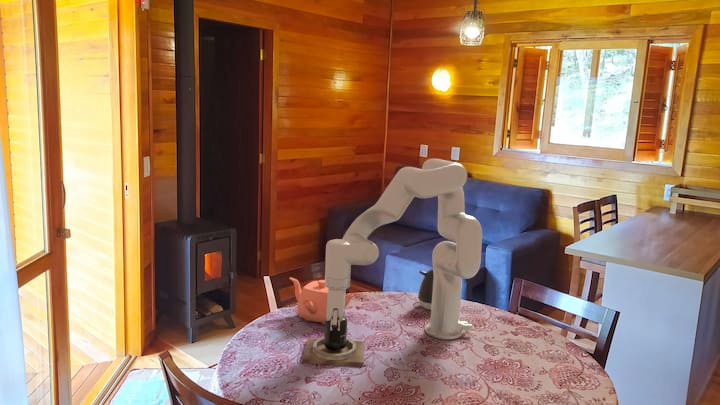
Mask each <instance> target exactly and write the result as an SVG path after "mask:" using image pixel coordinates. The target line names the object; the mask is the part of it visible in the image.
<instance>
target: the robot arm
mask: <svg viewBox="0 0 720 405" xmlns="http://www.w3.org/2000/svg"><path fill="white" fill-rule="evenodd" d="M467 179H468V172H467V170H466V168H465V166H463V165H462V164H461V163H459V162H454V161H451V160H447V159H446V160H444V159H441V158H429V159H426V161H424V163H423V164H422V167H421V168H418V167H414V166H404V167H402V168H400V169H399V170H398V171H397V172H396V174H395V175H394V177H393V178H392V180H391V181H390V182H389V184H388V185H387V187H386V188H385V190H384V192H383V193H382V194H381V196H380V197H379V198H378V201H376V203H375V204H374V205H373V206H370V207H369V208H367V209H366V210H365V211H364V212H362V213H361V214H360V215H359V216H357V217H356V218H355V220H353V222H352V223H350V226H349V227H348V229H347V230H346V231H345V233H344V234H343V237H342V238H341V239H339V238H335V239H331V240H328V241H327V243H326V245H325V267H324V268H325V272H324V280H325V287H327V288H328V294H327V314H326V320H327V321H328V320H329V321H330V319H331V327H330V337H329V342H330V343H340V334H341V330H340V322H341V321H342V319H343V314H344V313H345V312H344V308H345V297H346V296H347V295H346V291H347V289H349V288H351V270H352V268H351V266H352V265H353V266H354V265H356V266H370V265H371V264H373V263H375V262H376V261H377V260H378V258H379V256H380V251H379V247H378V245H377V244H376V243H374V241H372V240H369V239H368V238H369V236H370V235H371V234H372V233H373V232H374V231H375V230H376V229H377V228H379V227H381V226H384V225H387V224H391V223H393V222H397V221H398V220H400V219H401V217H402V216H403V214H404V213H405V211H406V210H407V208H408V206H409V205H410V204H411V202H412V201H413V200H414V198H415V197H416V198H418V199H429V198H435V197H437V232H438V234H439V235H440V236H441V237H443V238H445V239H447V240H443V241H440V242H439V243H436V245H435V247H434V248H433V249H432V254H431V260H432V261H431V262H432V269H433V291H432V304H431V310H430V320H429V321H430V322H428V323H427V324H425V327H424V331H425V333H426V334H427V335H429V336H431V337H432V338H435V339H439V340H456V339H459V338H460V337H462V335H463V331H464V330H467V331H473V324H472V323H468V321H461V320H460V309H461V298H462V296H461V295H462V286H463V280H462V279H465V280H466V279H471V278H474V277H475V276H476V275H477V273H478V272H479V271H480V267H481V264H482V248H483V246H482V244H483V229H482V225H481V223H480V222H479V220H478V219H477V218H476V217H474V216H472V215H469V214H466V212H465V210H466V208H465V206H466V205H465V192H464V189H463V187H464V185H465V184H466V182H467ZM345 309H346V308H345ZM332 318H333V320H332ZM337 318H339V320H337ZM337 322H338V324H337Z"/></svg>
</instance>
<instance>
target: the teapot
mask: <svg viewBox="0 0 720 405" xmlns="http://www.w3.org/2000/svg"><path fill="white" fill-rule="evenodd" d="M289 280H291V282H292V283H293V285H294V291H295V292H294V293H295V299H296V301H297V314H298V315H299V317H300V318H301V319H304V321H306V322H315V323H321V325H324V326H325V319H326V314H327V294H328V288H327V287H325V279H319V280H313V281H310V282H309V283H307V284H306V285H304V286H303V287H301V284H300V281H299V280H298V279H297V278H294V277H289ZM353 297H354V294H352V293H351V292H349V293H348V292H347V295H345V308H344V309H346V308H347V307H348V305H349V303H351V302H350V301H351V300H352V299H353Z"/></svg>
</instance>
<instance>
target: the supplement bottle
mask: <svg viewBox="0 0 720 405" xmlns="http://www.w3.org/2000/svg"><path fill="white" fill-rule="evenodd" d="M345 309H346V308H345ZM345 309H344V314H343V319H342V321H341V322H340V330H341V334H340V343H330V342H329V337H330V327H331V319H330V321H329V320H328V321H327V320H326V319H325V325H324V329H323V330H324V331H323V332H324V333H323V337H324V346H325V347H326V348H327V349H329V350H342V349H344V348H345V346H346V338H348V337H347V335H348V319H347V317H346V316H345V315H346V313H345ZM332 320H333V318H332ZM337 320H339V318H337ZM337 324H338V322H337Z"/></svg>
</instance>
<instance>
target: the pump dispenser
mask: <svg viewBox="0 0 720 405" xmlns="http://www.w3.org/2000/svg"><path fill="white" fill-rule="evenodd" d="M418 273H419V274H420V275H422V276H423V278H422V281H421V282H420V283H421V284H420V286H419V288H418V289H419V290H418V295H417V296H418V297H417V298H418V301H419V304H420V305H421V307H422V308H424V309H426V310H429V311H431V304H432V291H433V268H432V269H429V270H428V271H427V272H426V271H423V270H419V272H418Z"/></svg>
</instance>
